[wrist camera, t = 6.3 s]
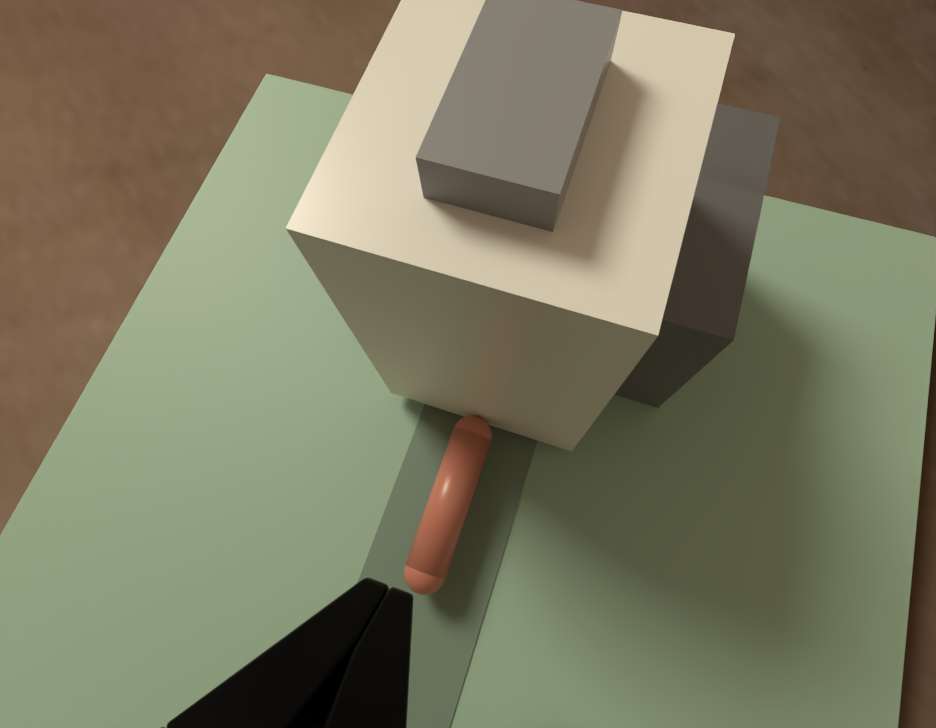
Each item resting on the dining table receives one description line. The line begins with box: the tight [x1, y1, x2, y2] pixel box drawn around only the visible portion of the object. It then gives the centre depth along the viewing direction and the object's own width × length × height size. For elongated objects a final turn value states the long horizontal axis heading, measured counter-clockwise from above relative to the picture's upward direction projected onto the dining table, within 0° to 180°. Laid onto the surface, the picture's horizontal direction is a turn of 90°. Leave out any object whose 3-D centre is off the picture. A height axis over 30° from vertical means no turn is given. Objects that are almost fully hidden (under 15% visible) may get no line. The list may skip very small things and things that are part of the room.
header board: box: [0, 74, 936, 728], centre depth 15 cm, size 21×22×2 cm
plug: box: [286, 0, 735, 595], centre depth 11 cm, size 9×5×9 cm, turn 161°
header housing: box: [615, 103, 780, 408], centre depth 14 cm, size 5×9×5 cm, turn 71°
